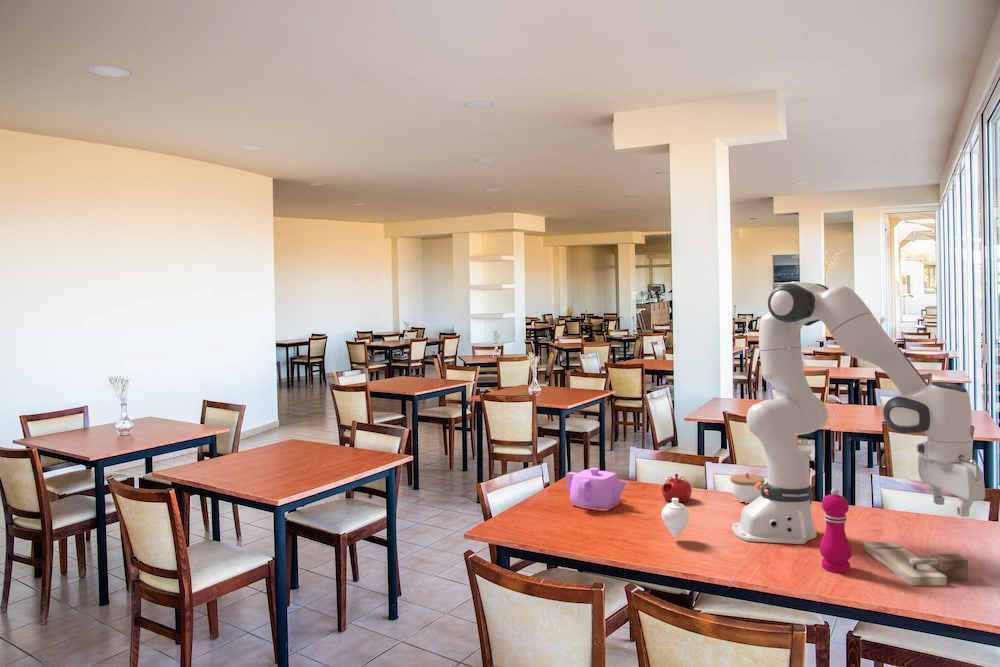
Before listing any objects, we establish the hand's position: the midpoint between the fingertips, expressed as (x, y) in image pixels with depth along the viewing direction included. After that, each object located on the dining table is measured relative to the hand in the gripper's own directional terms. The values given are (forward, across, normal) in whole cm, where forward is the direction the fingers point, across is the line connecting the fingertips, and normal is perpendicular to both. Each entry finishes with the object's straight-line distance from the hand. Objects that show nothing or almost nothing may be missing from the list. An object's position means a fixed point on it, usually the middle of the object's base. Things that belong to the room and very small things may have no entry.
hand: (950, 509), depth 160 cm
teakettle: (+15, +63, +78) cm, 102 cm away
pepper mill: (+16, +6, +24) cm, 30 cm away
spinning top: (+16, +27, +59) cm, 67 cm away
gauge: (+16, 0, +3) cm, 17 cm away
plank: (+16, +7, +8) cm, 19 cm away
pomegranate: (+15, +66, +51) cm, 85 cm away
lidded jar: (+15, +64, +28) cm, 72 cm away
